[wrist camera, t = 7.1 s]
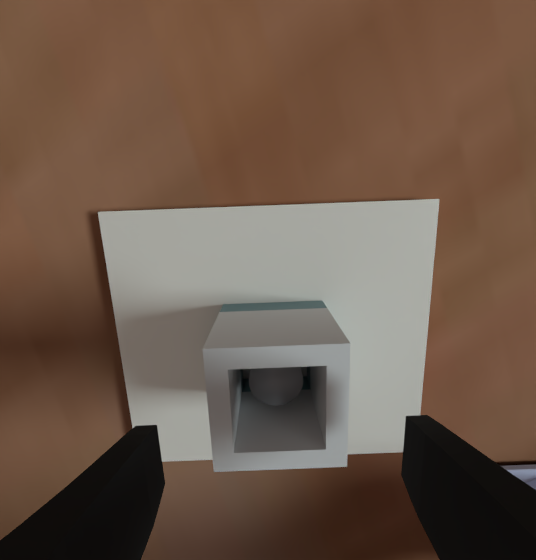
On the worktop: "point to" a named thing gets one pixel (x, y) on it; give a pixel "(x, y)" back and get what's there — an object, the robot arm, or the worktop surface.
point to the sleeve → (282, 418)
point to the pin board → (272, 288)
